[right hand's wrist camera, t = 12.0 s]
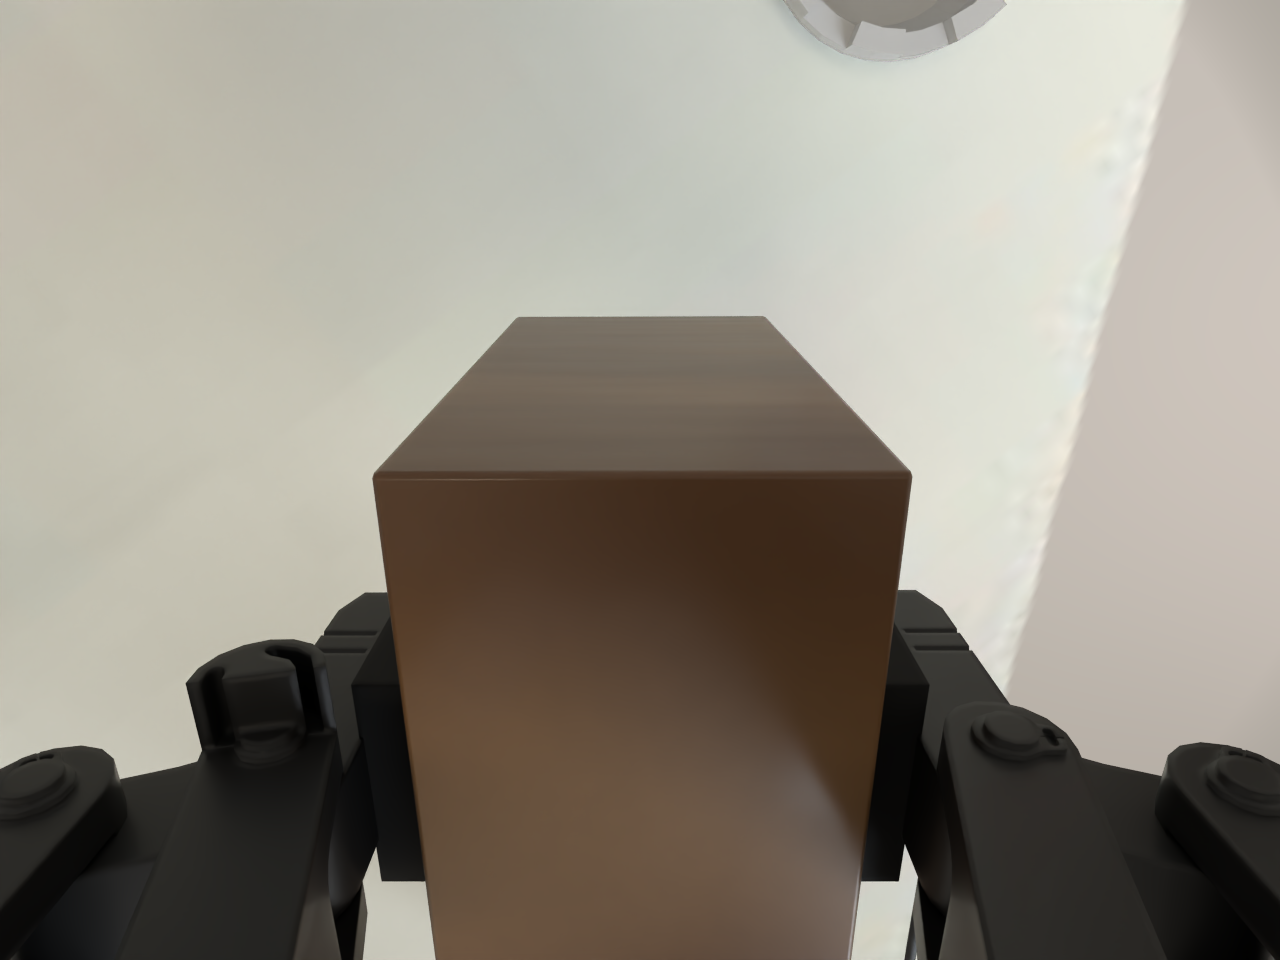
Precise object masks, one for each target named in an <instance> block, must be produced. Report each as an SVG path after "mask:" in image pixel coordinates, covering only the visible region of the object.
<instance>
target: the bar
mask: <svg viewBox="0 0 1280 960" xmlns="http://www.w3.org/2000/svg"><path fill="white" fill-rule="evenodd" d="M372 479H373V487H374V494H375V502H376V509H377V517H378V525H379V532H380V540H381V547H382V555H383V563H384V570H385V578H386V585H387V593H388V601H389V608H390V616H391V623H392V631H393V639H394V646H395V654H396V661H397V669H398V677H399V684H400V692H401V699H402V707H403V715H404V722H405V730H406V737H407V745H408V753H409V760H410V768H411V775H412V783H413V791H414V798H415V806H416V813H417V821H418V829H419V836H420V844H421V851H422V859H423V867H424V874H425V882H426V889H427V897H428V905H429V912H430V920H431V927H432V935H433V943H434V950H435V958H436V960H851V955H852V947H853V939H854V931H855V924H856V916H857V908H858V900H859V892H860V884H861V876H862V868H863V861H864V853H865V845H866V837H867V829H868V821H869V813H870V806H871V798H872V790H873V782H874V774H875V766H876V758H877V751H878V743H879V735H880V727H881V719H882V711H883V703H884V695H885V688H886V680H887V672H888V664H889V656H890V648H891V640H892V633H893V625H894V617H895V609H896V601H897V593H898V585H899V578H900V570H901V562H902V554H903V546H904V538H905V530H906V522H907V515H908V507H909V499H910V491H911V483H912V474H911V471H910V470H909V469H908V468H907V467H906V466H905V465H904V464H903V463H902V462H901V461H900V460H899V459H898V458H897V457H896V455H895V454H894V453H893V452H892V451H891V450H890V449H889V448H888V447H887V446H886V445H885V444H884V443H883V442H882V441H881V440H880V438H879V437H878V436H877V435H876V434H875V433H874V432H873V431H872V430H871V429H870V428H869V427H868V426H867V425H866V424H865V423H864V421H863V420H862V419H861V418H860V417H859V416H858V415H857V414H856V413H855V412H854V411H853V410H852V409H851V408H850V407H849V406H848V404H847V403H846V402H845V401H844V400H843V399H842V398H841V397H840V396H839V395H838V394H837V393H836V392H835V391H834V390H833V389H832V387H831V386H830V385H829V384H828V383H827V382H826V381H825V380H824V379H823V378H822V377H821V376H820V375H819V374H818V373H817V372H816V370H815V369H814V368H813V367H812V366H811V365H810V364H809V363H808V362H807V361H806V360H805V359H804V358H803V357H802V356H801V355H800V353H799V352H798V351H797V350H796V349H795V348H794V347H793V346H792V345H791V344H790V343H789V342H788V341H787V340H786V339H785V338H784V336H783V335H782V334H781V333H780V332H779V331H778V330H777V329H776V328H775V327H774V326H773V325H772V324H771V323H770V322H769V321H768V319H767V318H766V317H763V316H709V317H518V318H516V319H515V320H514V322H513V323H512V324H511V325H510V326H509V327H508V328H507V329H506V330H505V331H504V332H503V334H502V335H501V336H500V337H499V338H498V339H497V340H496V341H495V342H494V343H493V344H492V345H491V347H490V348H489V349H488V350H487V351H486V352H485V353H484V354H483V355H482V356H481V357H480V359H479V360H478V361H477V362H476V363H475V364H474V365H473V366H472V367H471V368H470V369H469V370H468V372H467V373H466V374H465V375H464V376H463V377H462V378H461V379H460V380H459V381H458V382H457V384H456V385H455V386H454V387H453V388H452V389H451V390H450V391H449V392H448V393H447V394H446V395H445V397H444V398H443V399H442V400H441V401H440V402H439V403H438V404H437V405H436V406H435V407H434V409H433V410H432V411H431V412H430V413H429V414H428V415H427V416H426V417H425V418H424V419H423V420H422V422H421V423H420V424H419V425H418V426H417V427H416V428H415V429H414V430H413V431H412V432H411V434H410V435H409V436H408V437H407V438H406V439H405V440H404V441H403V442H402V443H401V444H400V445H399V447H398V448H397V449H396V450H395V451H394V452H393V453H392V454H391V455H390V456H389V457H388V459H387V460H386V461H385V462H384V463H383V464H382V465H381V466H380V467H379V468H378V469H377V470H376V472H375V473H374V475H373V478H372Z"/></svg>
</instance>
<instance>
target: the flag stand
mask: <svg viewBox="0 0 1280 960" xmlns="http://www.w3.org/2000/svg"><path fill="white" fill-rule="evenodd" d="M784 2H785V3H786V5H787V6H788V7H789V9H790V10H791V12H792V13H793V14H794V16H795V17H796V19H797V20H798V21H799V23H800V24H802V25H803V26H804V27H805V28H806V29H807V30H808V31H809V32H810V33H811V34H812V35H813V36H815V37H816V38H817V39H818V40H819V41H821V42H823V43H824V44H826V45H828V46H830V47H831V48H833V49H835V50H837V51H838V52H840V53H843V54H846V55H850V56H853V57H856V58H859V59H863V60H871V61H885V62H892V61H899V60H905V59H912V58H917V57H919V56H922V55H925V54H928V53H930V52H933V51H936V50H938V49H941V48H943V47H945V46H947V45H950V44H952V43H954V42H956V41H958V40H960V39H961V38H963V37H965V36H966V35H968V34H970V33H971V32H973V31H975V30H976V29H978V28H980V27H981V26H983V25H984V24H985V23H986V22H988V21H989V20H990V19H991V18H992V17H993V16H994V15H996V14H997V13H998V12H999V11H1000V10H1001V9H1002V8H1003V7H1005V6H1006V5H1007V4H1006V3H1005V2H1004V0H784Z"/></svg>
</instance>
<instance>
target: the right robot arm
mask: <svg viewBox="0 0 1280 960" xmlns="http://www.w3.org/2000/svg"><path fill="white" fill-rule="evenodd" d="M186 687H187V691H188V695H189V699H190V703H191V707H192V711H193V715H194V719H195V723H196V727H197V731H198V735H199V739H200V744H201V748H202V752H201V754H200V757H199V759H198V761H197V762H194V763H191V764H187V765H183V766H180V767H176V768H171V769H166V770H162V771H157V772H152V773H148V774H143V775H138V776H133V777H129V778H124V779H120V778H119V775H118V772H117V768H116V765H115V762H114V759H113V758H112V757H111V756H110V755H109V754H107V753H106V752H105V751H104V750H103V749H99V748H93V747H87V746H73V747H64V748H55V749H51V750H47V751H43V752H40V753H38V754H36V753H35V754H32V755H30V756H27V757H24V758H21V759H19V760H18V761H16V762H14V763H12V764H10V765H8V766H6V767H4V768H2V769H0V960H363V951H364V942H365V932H366V922H367V906H366V899H365V893H364V887H363V879H364V876H365V874H366V871H367V868H368V866H369V863H370V861H371V858H372V856H373V853H374V851H375V848H377V854H378V860H379V867H380V873H381V880H382V881H425V874H424V867H423V859H422V851H421V844H420V836H419V829H418V821H417V813H416V806H415V798H414V791H413V783H412V775H411V768H410V760H409V753H408V745H407V737H406V730H405V722H404V715H403V707H402V699H401V692H400V684H399V677H398V669H397V661H396V654H395V646H394V639H393V631H392V623H391V616H390V608H389V601H388V593H364V594H362V595H361V596H359V597H358V598H356V599H355V600H354V601H352V602H351V603H349V604H348V605H346V606H345V607H343V608H342V609H340V610H339V611H338V612H337V614H336V615H335V617H334V618H333V619H332V621H331V622H330V624H329V625H328V627H327V628H326V630H325V631H324V636H321V637H320V638H319V640H318V641H317V642H316V644H315V645H313V644H311V643H307V642H303V641H299V640H295V639H286V640H267V641H262V642H257V643H252V644H247V645H243V646H241V647H238V648H236V649H233V650H230V651H228V652H225V653H223V654H220V655H218V656H217V657H215V658H214V659H212V660H210V661H209V662H207V663H206V664H204V665H203V666H201V667H200V668H198V669H197V671H196V672H195V673H194V674H193V675H192V676H191V678H190V679H189V680H188V681H187V682H186ZM904 845H906V848H907V850H908V853H909V855H910V858H911V861H912V863H913V866H914V868H915V871H916V873H917V876H918V881H917V887H916V893H915V899H914V905H913V911H912V917H911V922H910V928H909V934H908V940H907V946H906V953H905V960H915V959H916V953H917V959H918V960H1280V765H1279V764H1277V763H1275V762H1273V761H1271V760H1269V759H1267V758H1265V757H1263V756H1261V755H1259V754H1256V753H1253V752H1251V751H1248V750H1246V751H1245V750H1242V749H1241V748H1236V747H1232V746H1228V745H1220V744H1211V743H1202V742H1199V743H1193V744H1187V745H1182V746H1179V747H1178V748H1176V749H1175V750H1174V751H1173V752H1172V753H1170V754H1169V755H1168V757H1167V761H1166V764H1165V767H1164V771H1163V774H1162V776H1158V775H1153V774H1149V773H1144V772H1139V771H1135V770H1130V769H1125V768H1120V767H1116V766H1111V765H1106V764H1102V763H1099V762H1095V761H1091V760H1088V759H1084V758H1081V755H1080V753H1079V751H1078V749H1077V747H1076V746H1075V745H1074V743H1073V742H1072V740H1071V739H1070V738H1069V736H1068V735H1067V734H1066V733H1065V732H1064V731H1063V730H1061V729H1060V728H1059V727H1057V726H1056V725H1055V724H1053V723H1052V722H1051V721H1049V720H1048V719H1047V718H1044V717H1042V716H1040V715H1038V714H1036V713H1033V712H1031V711H1029V710H1027V709H1024V708H1021V707H1017V706H1013V705H1010V704H1009V702H1008V701H1007V700H1006V698H1005V697H1004V695H1003V694H1002V692H1001V691H1000V690H999V688H998V687H997V685H996V684H995V682H994V681H993V680H992V678H991V677H990V675H989V674H988V672H987V671H986V670H985V668H984V667H983V665H982V664H981V663H980V661H979V660H978V658H977V657H976V655H975V654H974V653H973V651H969V645H968V644H967V643H966V641H965V640H964V638H963V637H962V635H961V634H960V633H957V628H956V627H955V625H954V624H953V623H952V621H951V620H950V618H949V617H948V615H947V614H946V613H945V611H944V610H943V608H941V607H940V606H939V605H937V604H936V603H934V602H933V601H931V600H930V599H928V598H927V597H925V596H924V595H922V594H921V593H919V592H918V591H916V590H898V593H897V601H896V609H895V617H894V625H893V633H892V640H891V648H890V656H889V664H888V672H887V680H886V688H885V695H884V703H883V711H882V719H881V727H880V735H879V743H878V751H877V758H876V766H875V774H874V782H873V790H872V798H871V806H870V813H869V821H868V829H867V837H866V845H865V853H864V861H863V868H862V876H861V881H899V877H900V870H901V864H902V858H903V851H904Z"/></svg>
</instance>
